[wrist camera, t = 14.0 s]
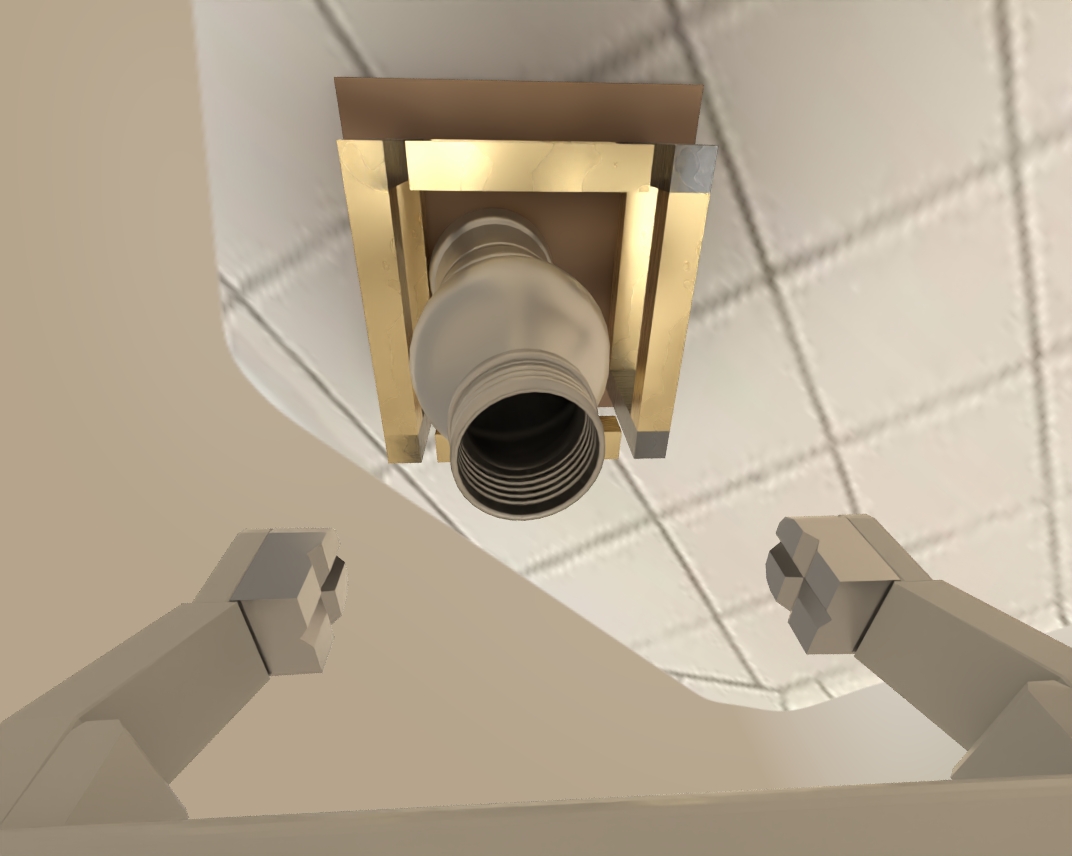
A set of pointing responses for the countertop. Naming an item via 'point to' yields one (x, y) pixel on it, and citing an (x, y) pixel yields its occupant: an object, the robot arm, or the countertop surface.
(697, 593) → the countertop surface
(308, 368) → the countertop surface
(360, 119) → the walnut board
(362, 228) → the frame
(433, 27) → the countertop surface
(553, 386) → the plastic bottle
